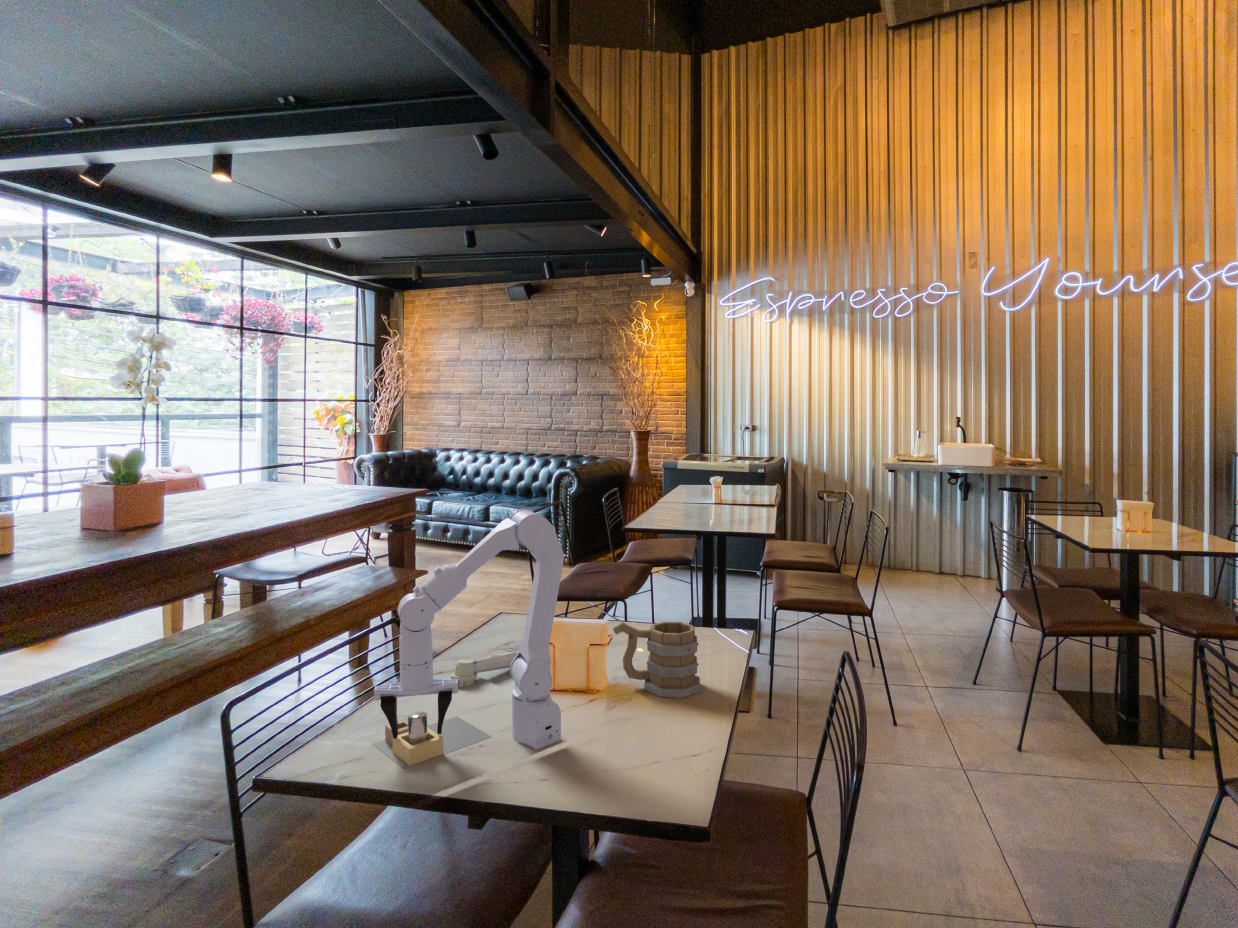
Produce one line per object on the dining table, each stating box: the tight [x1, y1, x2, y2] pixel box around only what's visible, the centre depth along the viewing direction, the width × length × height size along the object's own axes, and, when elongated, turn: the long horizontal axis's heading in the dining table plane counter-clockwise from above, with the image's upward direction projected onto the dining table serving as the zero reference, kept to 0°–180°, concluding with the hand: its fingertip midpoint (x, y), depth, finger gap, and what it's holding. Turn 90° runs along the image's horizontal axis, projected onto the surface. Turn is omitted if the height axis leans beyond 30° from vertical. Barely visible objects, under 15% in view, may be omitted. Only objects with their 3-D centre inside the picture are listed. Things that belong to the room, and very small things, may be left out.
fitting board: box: [371, 716, 492, 770], centre depth 132 cm, size 13×18×4 cm
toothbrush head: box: [450, 649, 518, 688], centre depth 169 cm, size 5×7×25 cm
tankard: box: [612, 621, 701, 699], centre depth 161 cm, size 20×13×15 cm, turn 84°
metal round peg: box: [407, 711, 428, 745], centre depth 127 cm, size 3×3×7 cm
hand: (417, 733), depth 127 cm, fingers open, 7 cm apart
